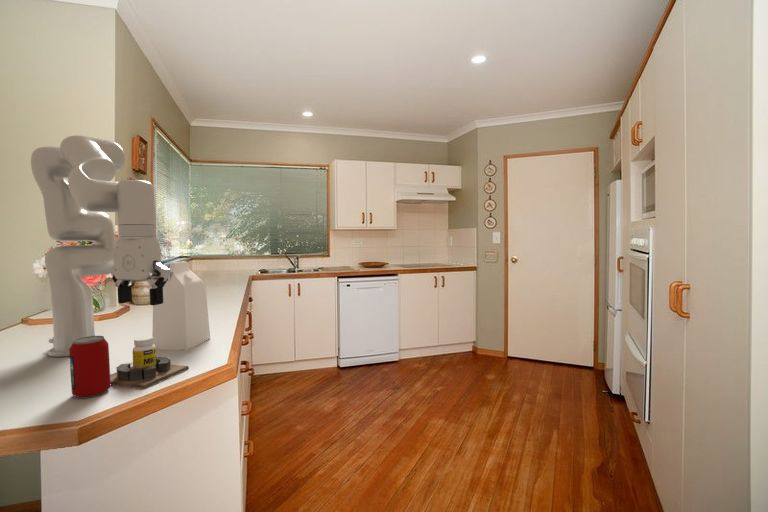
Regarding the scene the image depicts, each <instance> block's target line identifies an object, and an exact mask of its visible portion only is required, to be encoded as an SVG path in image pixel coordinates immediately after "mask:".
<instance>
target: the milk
mask: <svg viewBox="0 0 768 512" xmlns="http://www.w3.org/2000/svg"><path fill="white" fill-rule="evenodd" d="M168 269H170V274H169V277H168V281H167V282H166V283H165V287H163V303H162V304H158V305H152V332H151V333H152V336H151V337H153V340H154V343H153V344H154V345H155V349H156V350H177V349H188V350H190V349H192V348H194V347H196V346H199V345H200V343H201V344H202V342H203V343H205V342H207V341H209V340H211V331H210V320H209V308H208V298H207V285H206V284H205V282H204V281H203V280H202V279H201V278H200V277H199V276H198V275H197V274H196V273H195V272H194V271H192V270H191V269H190V266H189V263H188V261H175V262H170V264H169V268H168ZM208 339H209V340H208ZM206 340H207V341H206ZM204 341H205V342H204ZM189 348H190V349H189Z"/></svg>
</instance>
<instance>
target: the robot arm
mask: <svg viewBox="0 0 768 512" xmlns="http://www.w3.org/2000/svg"><path fill="white" fill-rule="evenodd" d="M125 163H126V154H125V151H124V149H123V148H122V147H121V145H120V144H118V143H116V142H115V141H112V140H107V139H102V138H95V137H93V136H92V137H90V136H86V135H75V134H74V135H70V136H66V137H65V138H64V139H62V140H61V142H60V145H59V146H56V147H55V146H41V147H37V148H35V149H34V150H33V151H32V153H31V157H30V166H31V167H30V168H31V172H32V175H33V178H34V181H35V182H36V184H37V187H38V188H39V190H40V193H41V194H42V199H43V205H44V206H43V207H44V215H45V221H46V227H47V232H48V235H49V237H50V238H51V239H52V240H54V241H58V242H71V243H72V242H74V243H75V242H93V244H92V245H89V244H88V245H81V244H79V245H78V244H77V245H61V246H55V247H53V248H50V249H49V250H47V252H46V253H45V255H44V265H45V269H46V273H47V277H48V280H49V286H50V295H51V296H50V297H51V311H52V326H53V328H52V329H53V337H52V338H49V340H48V343H49V344H52V346H53V347H52V348H49V349H48V350H47V356H48V357H56V358H57V357H58V358H59V357H70V355H69V349H70V347H71V345H72V344H73V341H74V340H76V339H79V338H83V337H88V336H96V334H95V317H94V315H95V314H94V302H93V301H94V298H93V297H94V296H93V291H92V289H91V287H90V285H88V284H87V283H86V282H85V281H84V280H83V278H86V277H95V276H98V277H99V276H106V275H107V276H108V275H111V279H112V280H113V282H114V286H115V288H117V303H118V304H119V305H121V304H126V303H127V304H128V303H130V302H132V301H133V295H132V294H133V293H132V285H130V283H131V282H132V281H133V282H136V281H137V282H143V281H147V283H148V284H149V286H150V287H151V288H149V305H150V306H153V305H158V304H162V303H163V287H165V283H166V282H167V281H168V277H169V274H170V269H169V268H168V267H167V266H166V265H163V264H162V255H161V248H160V244H159V240H158V238H157V227H156V226H157V225H156V224H157V223H156V222H157V221H156V198H155V187H154V185H153V183H151V182H150V181H148V180H141V179H123V180H120V181H114V180H113V179H114V178H115V176H116V174H117V173H118V172H119V171H121V170H122V169H123V167H124V165H125ZM64 178H66V179H67V180H68V181H67V180H66V179H64ZM108 213H117V221H118V229H117V230H118V238H116V234H115V228H114V224H113V220H112V218H111V217H110V216H109V215H108Z"/></svg>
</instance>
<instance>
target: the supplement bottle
mask: <svg viewBox="0 0 768 512" xmlns="http://www.w3.org/2000/svg"><path fill="white" fill-rule="evenodd" d="M153 343H154V340H153V337H152V336H149V335H148V336H141V337H137V338H135V339H134V340H133V345H134V347H133V348H132V366H133V369H136V368H145V367H150V366H154V367H156V356H157V355H156V353H157V351H156V350H157V349H155V345H154V344H153Z"/></svg>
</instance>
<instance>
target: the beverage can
mask: <svg viewBox="0 0 768 512" xmlns="http://www.w3.org/2000/svg"><path fill="white" fill-rule="evenodd" d="M109 347H110V346H109V343H108V341H107V340H106V338H105V336H104V335H95V336H88V337H83V338H79V339H76V340H74V341H73V344H72V345H71V347H70V349H69V355H70V356H69V370H70V383H71V384H70V385H71V386H70V387H71V394H72V396H74V397H78V398H79V399H81V398H82V399H84V398H85V399H86V398H87V399H88V398H92V397H96V396H99V395H102V394H104V393H105V392H107V391H108V389H110V388H111V385H110V374H111V365H110V364H111V363H110V349H109Z"/></svg>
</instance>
